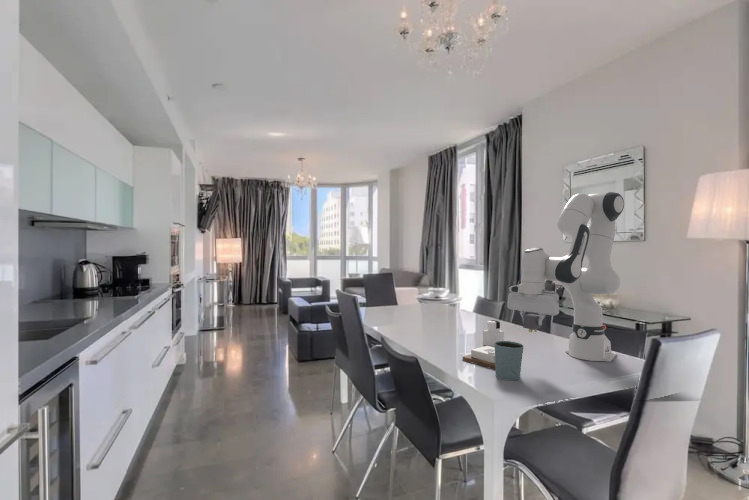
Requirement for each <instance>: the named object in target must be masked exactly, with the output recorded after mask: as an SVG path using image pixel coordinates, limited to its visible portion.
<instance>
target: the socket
mask: <svg viewBox="0 0 749 500" xmlns="http://www.w3.org/2000/svg"><path fill="white" fill-rule="evenodd" d="M488 349H492V350H495V348H494V347H490V346H485V345H483V346H481V347H477V348H473V349H471V350H470V354H471V357H473V358H477V359H481V360H484V361H488V362H492V363H495V351H493V352H488V351H484V350H488Z"/></svg>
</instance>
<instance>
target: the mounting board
mask: <svg viewBox="0 0 749 500" xmlns="http://www.w3.org/2000/svg"><path fill="white" fill-rule="evenodd" d="M462 361H465V362H468V363H471V364H475V365H478V366H481V367H484V368H485V367H486V368H488V369H493V370H496V367H495V363H496V362H495V363H492V362H488V361H484V360H481V359H477V358H473V357H471V353H470V354H468V355H467V354H466V355H463V356H462Z"/></svg>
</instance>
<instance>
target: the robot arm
mask: <svg viewBox="0 0 749 500" xmlns="http://www.w3.org/2000/svg"><path fill="white" fill-rule="evenodd" d="M624 209H625V201H624V197H623V196H622V195H621V194H620V193H619V192H611V191H608V192H594V193H590V194H589V193H588V194H586V193H576V194H574V195H572V196H571V197H570V198H569V199H568V201H567V202H566V204H565V205H564V207H563V208H562V209H561V212H560V214H559V217H558V218H557V223H556V226H557V228H558V230H559V232H560V233H561V234H563V235H564V236H565V237H568V238H570V239H572V241H571V244H570V247H569V251H568V253H567V255H564V256H560V257H559V256H551V255H549V254H548V253H546V252H545V250H544V248H541V247H532V248H527V249H526V248H525V250H524V251H523V253H522V256H521V267H520V271H521V278H520V283H519V284H515V285H511V286H510V287H508V290H509V293H508V295H507V302H506V303H507V305H506V306H507V308H508V310H512V311H519V314H520V317H521V318H522V319H523V316H524V315H526V314H527V313H530V314H537V315H539V317H540V318H539V320H536V322H537V323H536V324H537V325H541V326H542V325H543V320H544V319H545V317H546V316H553V317H554V316H558V315H559V313H560V304H559V300H560V295H559V293H558V292H556V291H555V290H548V289H546V281H552V282H560V283H561V286H562V288H564V289H565V290H566V292H567V293H568V295H569V296H570V299H571V301H572V307H573V323H572V326H571V327H572V333H571V334H569V338H568V339H569V340H568V349H565V353H566V354H569V356H570V357H572V358H575V359H579V360H583V361H593V362H612V361H613V360H614V359H615V358H616V357H617V356H618V354H617V352H615V351H612V349H611V348H612V347H611V346H612V344H611V341H610V340H609V338H608V337H607V336H606V335H605V330H606V329H607V325H605V324H603V318H604V317H603V316H604V315H603V307H602V306H601V304H600V303H599V302H597V301H596V300H595V298H594V297H593V294H595V295H610V294H615V293H616V292H617V291H618V290H619V288H620V285H621V278H620V276H619V275H618V273H617V272H616V271H615V270H614V269H613V266H612V263H611V254H612V249H613V245H614V240H615V235H616V228H617V227H616V220H617V219H618V218H619V217H620V216H621V214H622V213H623V211H624ZM589 221H590V222H589ZM588 223H590V224H589V225H588ZM584 258H585V259H586V260H588V267H583V261H584Z"/></svg>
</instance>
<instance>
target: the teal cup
mask: <svg viewBox="0 0 749 500" xmlns="http://www.w3.org/2000/svg"><path fill="white" fill-rule="evenodd" d="M494 345H495V362H496V363H495V367H496V369H495V377H497V378H498V379H502V380H505V381H517V380H519V379H520V378H521V372H522V371H521V370H522V360H523V352H524V348H525V347H524V345H523V344H522V343H520V342H516V341H509V340H504V341H497V342H495V343H494Z"/></svg>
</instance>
